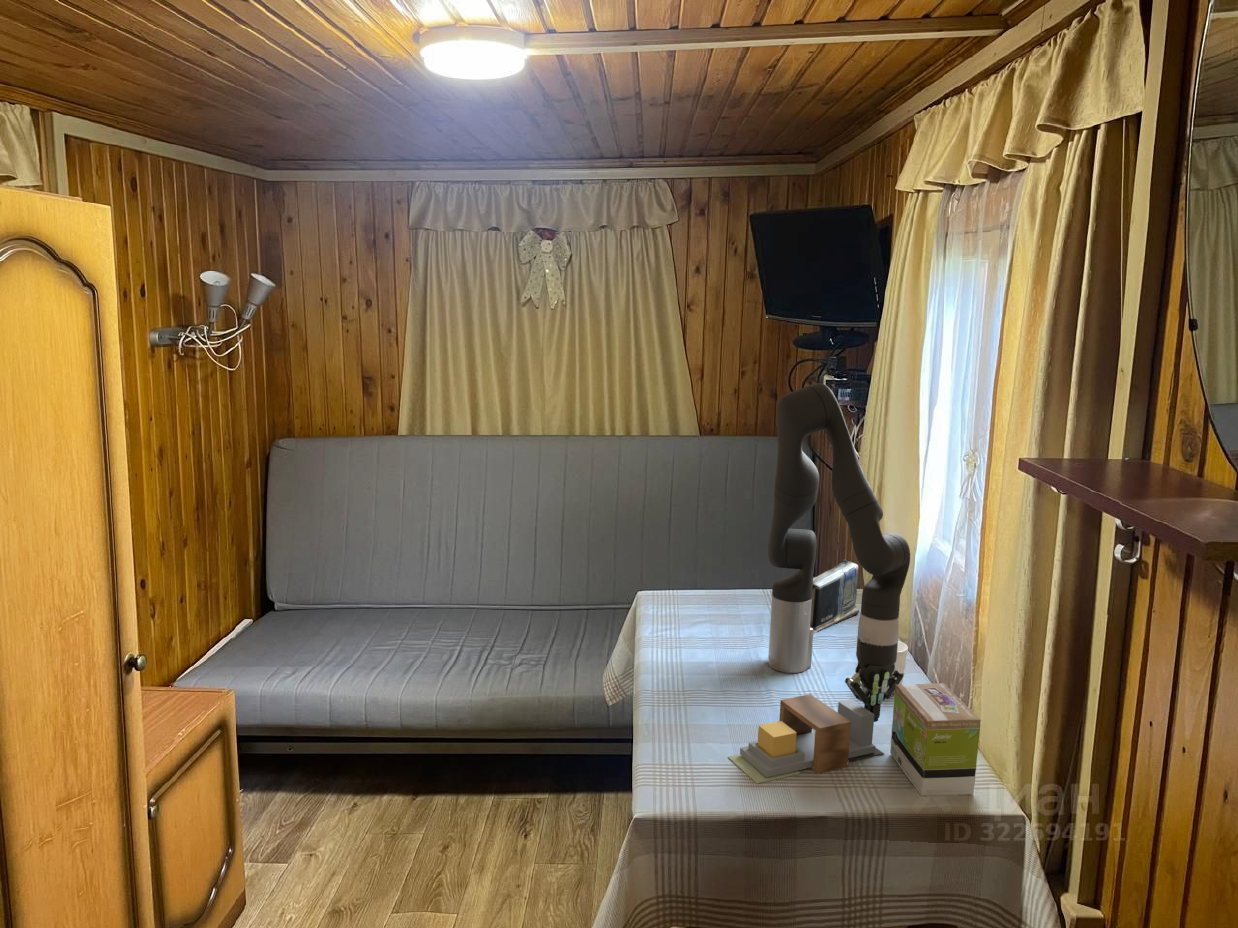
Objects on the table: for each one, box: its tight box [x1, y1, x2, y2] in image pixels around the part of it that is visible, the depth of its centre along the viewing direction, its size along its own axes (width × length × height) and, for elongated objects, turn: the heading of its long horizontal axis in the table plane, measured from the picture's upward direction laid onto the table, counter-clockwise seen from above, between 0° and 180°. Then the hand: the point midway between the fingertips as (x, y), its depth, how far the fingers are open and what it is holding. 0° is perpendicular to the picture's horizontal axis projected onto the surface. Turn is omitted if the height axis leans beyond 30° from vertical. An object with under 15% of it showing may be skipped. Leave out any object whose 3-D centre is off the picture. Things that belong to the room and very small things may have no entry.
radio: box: [810, 559, 860, 635], centre depth 239 cm, size 23×9×15 cm, turn 129°
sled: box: [739, 698, 876, 777], centre depth 167 cm, size 24×9×7 cm, turn 114°
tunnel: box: [778, 694, 851, 775], centre depth 168 cm, size 7×12×9 cm, turn 24°
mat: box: [727, 753, 800, 785], centre depth 164 cm, size 9×10×1 cm
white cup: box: [886, 640, 909, 694], centre depth 198 cm, size 8×8×10 cm
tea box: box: [889, 682, 982, 797], centre depth 161 cm, size 15×10×15 cm, turn 5°
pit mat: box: [848, 746, 885, 763], centre depth 172 cm, size 8×10×1 cm
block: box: [757, 721, 797, 758], centre depth 164 cm, size 5×5×5 cm
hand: (871, 720), depth 173 cm, fingers closed
